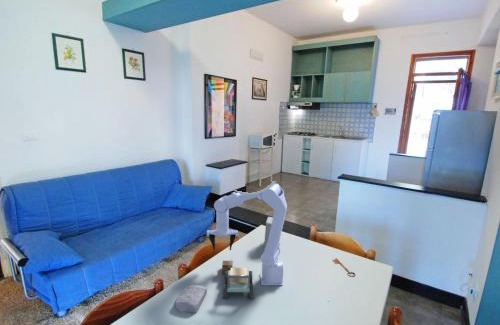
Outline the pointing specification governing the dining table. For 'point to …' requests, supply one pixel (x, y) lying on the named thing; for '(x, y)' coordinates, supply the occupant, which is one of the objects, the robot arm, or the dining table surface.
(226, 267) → the walnut chock
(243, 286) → the dark framed glass box
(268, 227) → the skincare box
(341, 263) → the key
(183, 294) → the stone block
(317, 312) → the dining table surface
